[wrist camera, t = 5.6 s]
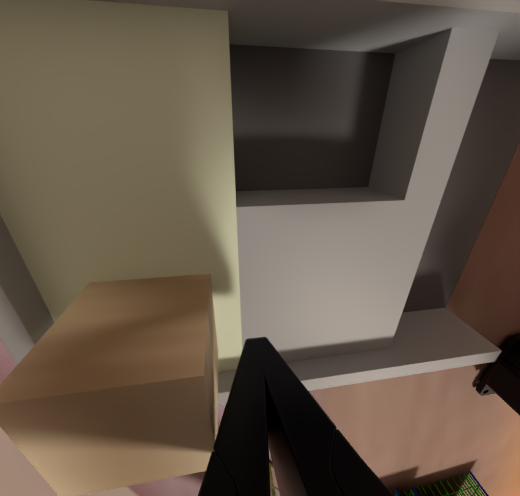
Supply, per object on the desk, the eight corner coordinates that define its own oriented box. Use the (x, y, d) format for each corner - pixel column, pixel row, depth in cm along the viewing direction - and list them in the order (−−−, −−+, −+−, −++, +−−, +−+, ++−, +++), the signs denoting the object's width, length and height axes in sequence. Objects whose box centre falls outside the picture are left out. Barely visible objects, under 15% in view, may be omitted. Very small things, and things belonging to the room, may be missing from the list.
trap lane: (559, 38, 9) (733, -11, 6) (438, 315, 15) (494, 361, 12) (-55, -7, 6) (-321, -144, 3) (100, 355, 12) (60, 430, 9)
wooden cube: (210, 273, 8) (203, 375, 5) (218, 351, 10) (217, 468, 7) (89, 282, 8) (-19, 405, 4) (119, 364, 10) (61, 498, 6)
